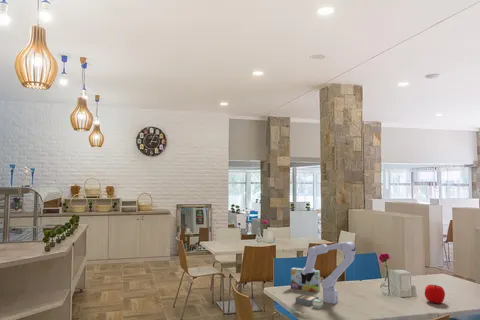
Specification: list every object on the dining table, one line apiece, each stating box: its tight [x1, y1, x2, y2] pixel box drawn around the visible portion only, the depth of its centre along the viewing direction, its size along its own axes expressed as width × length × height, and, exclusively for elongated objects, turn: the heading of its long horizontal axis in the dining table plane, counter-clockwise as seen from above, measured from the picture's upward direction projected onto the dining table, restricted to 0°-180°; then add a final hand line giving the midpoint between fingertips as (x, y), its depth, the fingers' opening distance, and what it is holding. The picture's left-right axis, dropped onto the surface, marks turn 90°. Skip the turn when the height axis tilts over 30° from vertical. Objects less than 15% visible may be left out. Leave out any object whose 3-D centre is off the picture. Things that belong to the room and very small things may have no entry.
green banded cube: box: [312, 299, 324, 310], centre depth 252 cm, size 5×5×5 cm
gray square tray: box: [295, 293, 319, 307], centre depth 262 cm, size 11×11×4 cm
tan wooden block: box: [299, 294, 317, 300], centre depth 262 cm, size 8×8×3 cm
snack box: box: [290, 267, 321, 293], centre depth 297 cm, size 21×6×15 cm, turn 62°
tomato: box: [424, 284, 446, 304], centre depth 267 cm, size 12×13×12 cm
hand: (305, 282), depth 275 cm, fingers open, 7 cm apart
